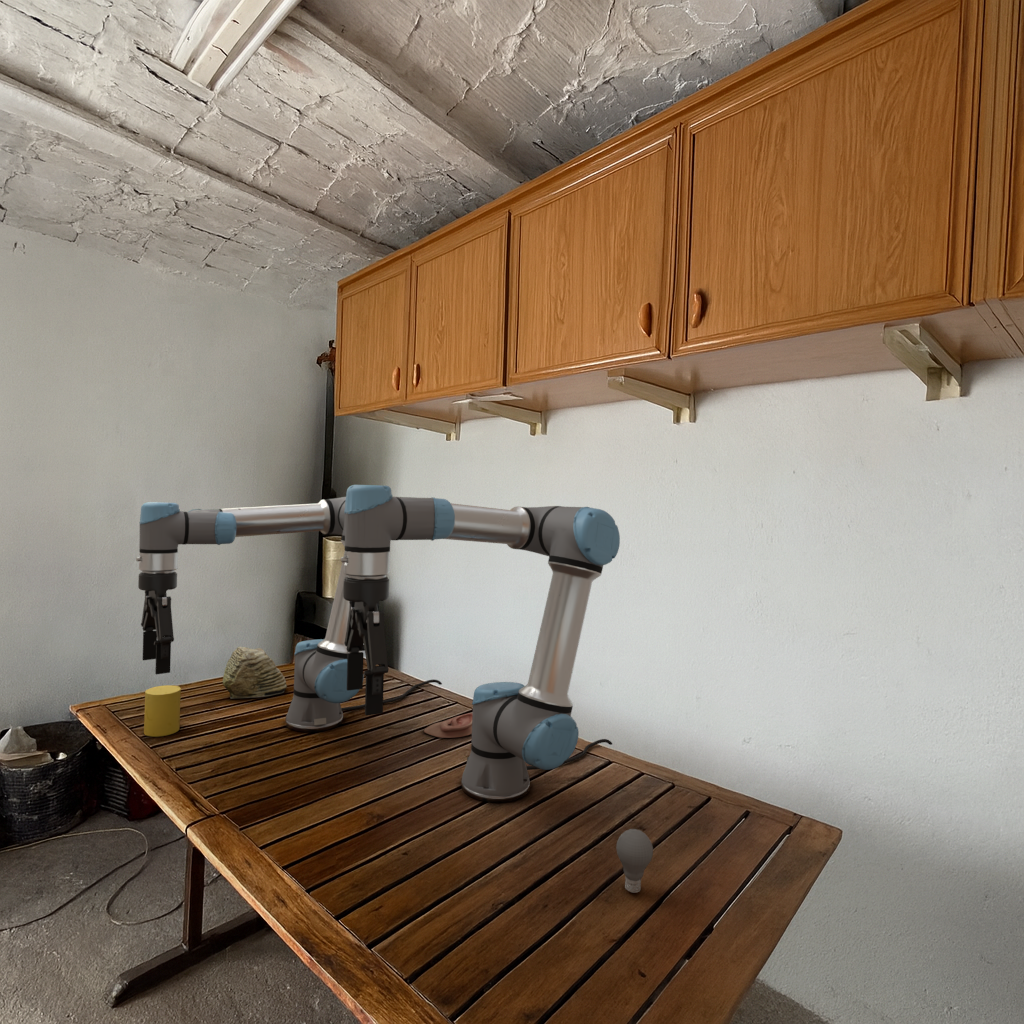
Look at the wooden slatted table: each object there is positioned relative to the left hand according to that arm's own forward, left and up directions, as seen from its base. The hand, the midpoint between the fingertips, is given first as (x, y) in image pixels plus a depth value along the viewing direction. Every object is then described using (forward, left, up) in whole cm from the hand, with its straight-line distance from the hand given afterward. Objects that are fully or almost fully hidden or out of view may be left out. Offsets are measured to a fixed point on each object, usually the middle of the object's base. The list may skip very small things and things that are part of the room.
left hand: (155, 666), depth 142 cm
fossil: (-44, -35, -24) cm, 61 cm away
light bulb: (-35, +101, -24) cm, 110 cm away
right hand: (-7, +64, +5) cm, 64 cm away
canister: (-12, -24, -24) cm, 36 cm away
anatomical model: (-65, +29, -24) cm, 75 cm away
